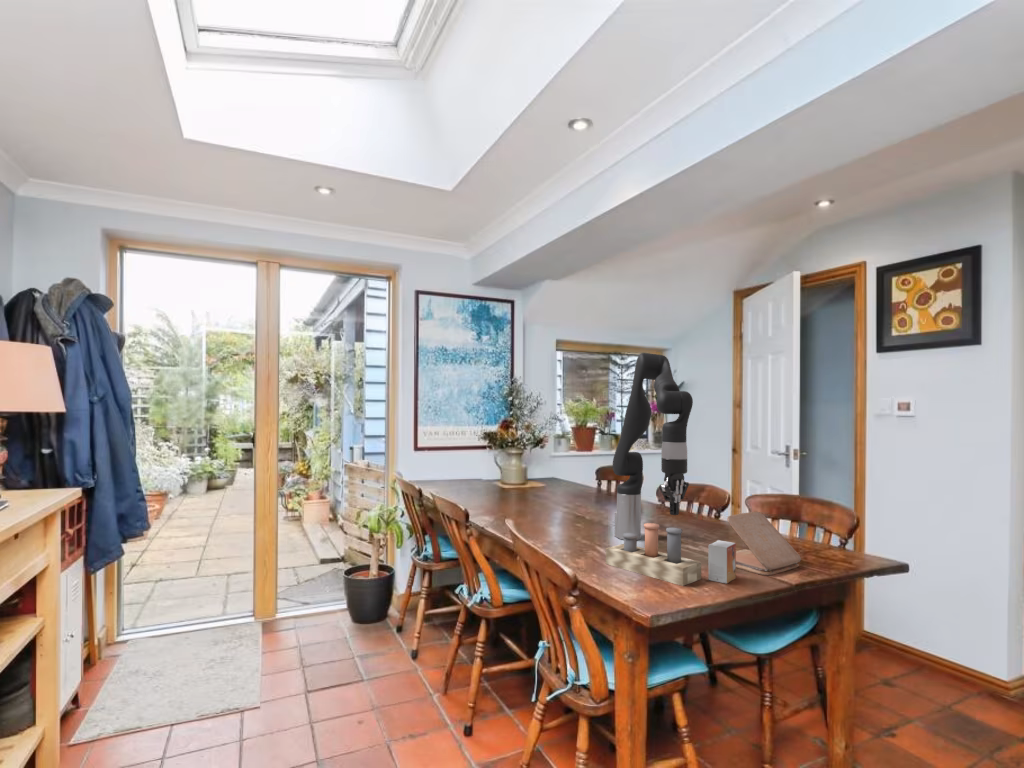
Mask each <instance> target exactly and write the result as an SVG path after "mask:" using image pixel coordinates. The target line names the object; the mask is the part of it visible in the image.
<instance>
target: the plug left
mask: <svg viewBox="0 0 1024 768" xmlns="http://www.w3.org/2000/svg"><path fill="white" fill-rule="evenodd" d="M623 537H624V540H623V544H624V551H628V552H636V551H637V547H638V546H637V545H638V544H637V543H638V540H637V538H638V535H637V534H634V533H624V534H623Z"/></svg>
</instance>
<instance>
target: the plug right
mask: <svg viewBox="0 0 1024 768" xmlns="http://www.w3.org/2000/svg"><path fill="white" fill-rule="evenodd" d="M665 532H666V534H667V535H666V546H667V547H666V550H667V552H666V554H667V562H671V563H675V564H678V563H681V557H682V534H683V529H682V528H678V527H666V529H665Z"/></svg>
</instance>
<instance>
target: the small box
mask: <svg viewBox="0 0 1024 768" xmlns="http://www.w3.org/2000/svg"><path fill="white" fill-rule="evenodd" d="M707 549H708V553H707V556H708V557H707V560H708V563H707V565H708V568H707V569H708V571H707V573H708V581H712V582H718V583H721V584H722V583H723V584H726V585H727V584H728V583H730V582H732V581H733V580H735V579H736V578H737V577H736V576H737V568H736V551H737V543H736V542H731V541H725V540H720V539H717V540H716V541H715V542H711V543H710V544H708V547H707Z"/></svg>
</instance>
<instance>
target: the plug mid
mask: <svg viewBox="0 0 1024 768" xmlns="http://www.w3.org/2000/svg"><path fill="white" fill-rule="evenodd" d="M643 527H644V548H645V556H648V557H652V558H655V557H658V552H659V528H660V524H658V523H653V522H652V523H650V522H646V523H643Z"/></svg>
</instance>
